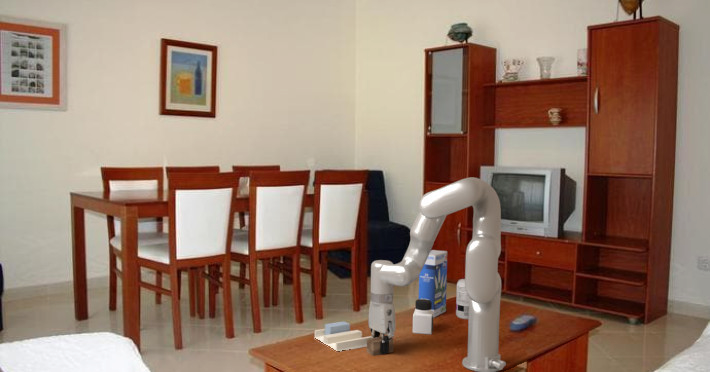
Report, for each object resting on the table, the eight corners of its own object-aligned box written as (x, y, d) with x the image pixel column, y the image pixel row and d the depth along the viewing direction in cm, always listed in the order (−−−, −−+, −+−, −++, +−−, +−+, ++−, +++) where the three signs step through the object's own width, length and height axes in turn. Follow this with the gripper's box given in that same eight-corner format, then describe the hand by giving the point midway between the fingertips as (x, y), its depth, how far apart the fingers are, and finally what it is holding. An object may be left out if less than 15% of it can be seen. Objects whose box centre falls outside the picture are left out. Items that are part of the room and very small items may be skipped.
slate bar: (349, 336, 213) (349, 324, 213) (330, 339, 209) (330, 327, 209) (343, 333, 217) (344, 321, 216) (324, 336, 212) (324, 324, 212)
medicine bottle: (431, 334, 219) (432, 302, 219) (412, 333, 221) (413, 301, 220) (433, 329, 226) (433, 298, 226) (414, 327, 228) (415, 297, 227)
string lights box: (433, 318, 241) (435, 255, 240) (416, 315, 245) (418, 253, 244) (446, 311, 252) (448, 251, 251) (430, 308, 256) (431, 249, 255)
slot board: (372, 345, 206) (372, 337, 206) (337, 352, 199) (337, 343, 198) (347, 332, 220) (348, 325, 219) (314, 338, 212) (314, 330, 212)
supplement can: (452, 314, 247) (453, 279, 246) (470, 313, 249) (471, 278, 248) (461, 320, 239) (462, 283, 238) (479, 318, 241) (480, 282, 241)
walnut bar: (393, 351, 200) (393, 338, 200) (373, 355, 196) (373, 342, 195) (386, 348, 203) (386, 335, 203) (366, 352, 199) (366, 339, 199)
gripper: (405, 301, 193) (404, 357, 194) (377, 291, 208) (375, 342, 209) (386, 304, 189) (385, 360, 190) (358, 293, 204) (357, 345, 205)
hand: (380, 350), depth 200 cm, fingers closed on walnut bar, 4 cm apart
